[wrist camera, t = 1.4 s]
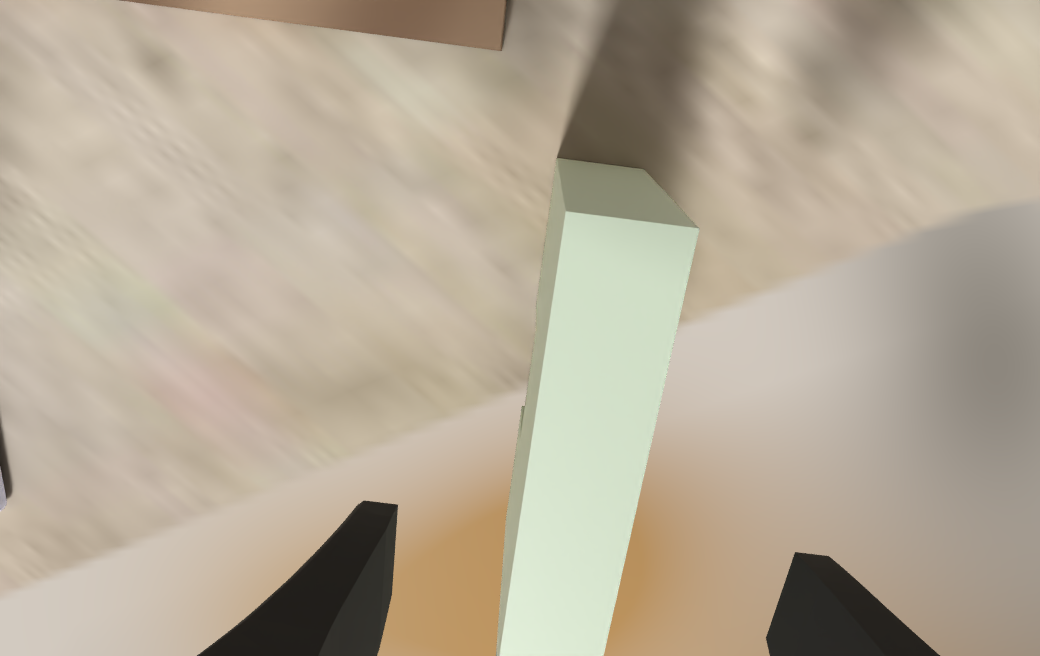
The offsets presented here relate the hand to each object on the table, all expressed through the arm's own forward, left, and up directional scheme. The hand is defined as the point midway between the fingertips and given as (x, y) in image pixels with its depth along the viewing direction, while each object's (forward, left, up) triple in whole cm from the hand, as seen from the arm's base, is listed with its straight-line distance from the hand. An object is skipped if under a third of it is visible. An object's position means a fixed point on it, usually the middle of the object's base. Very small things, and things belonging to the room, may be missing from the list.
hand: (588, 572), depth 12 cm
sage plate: (0, 0, -9) cm, 9 cm away
